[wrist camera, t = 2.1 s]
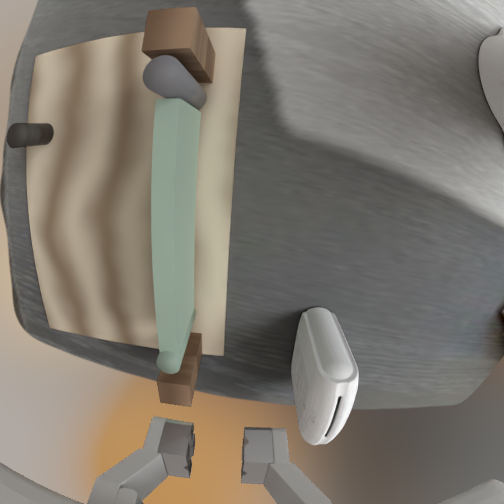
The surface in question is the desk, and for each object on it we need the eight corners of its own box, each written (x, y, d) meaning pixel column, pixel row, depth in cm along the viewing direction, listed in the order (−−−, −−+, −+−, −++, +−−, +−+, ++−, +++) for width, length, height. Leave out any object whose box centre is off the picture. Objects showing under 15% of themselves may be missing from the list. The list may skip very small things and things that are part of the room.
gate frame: (246, 30, 22) (242, -28, 12) (224, 352, 34) (215, 425, 23) (38, 56, 22) (-24, 41, 11) (52, 325, 33) (9, 373, 23)
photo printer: (320, 375, 35) (340, 452, 24) (287, 375, 35) (298, 456, 24) (337, 306, 32) (373, 383, 20) (299, 305, 32) (320, 386, 20)
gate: (181, 86, 23) (145, 56, 14) (208, 85, 23) (184, 54, 14) (176, 318, 31) (151, 381, 22) (198, 321, 31) (180, 385, 22)
